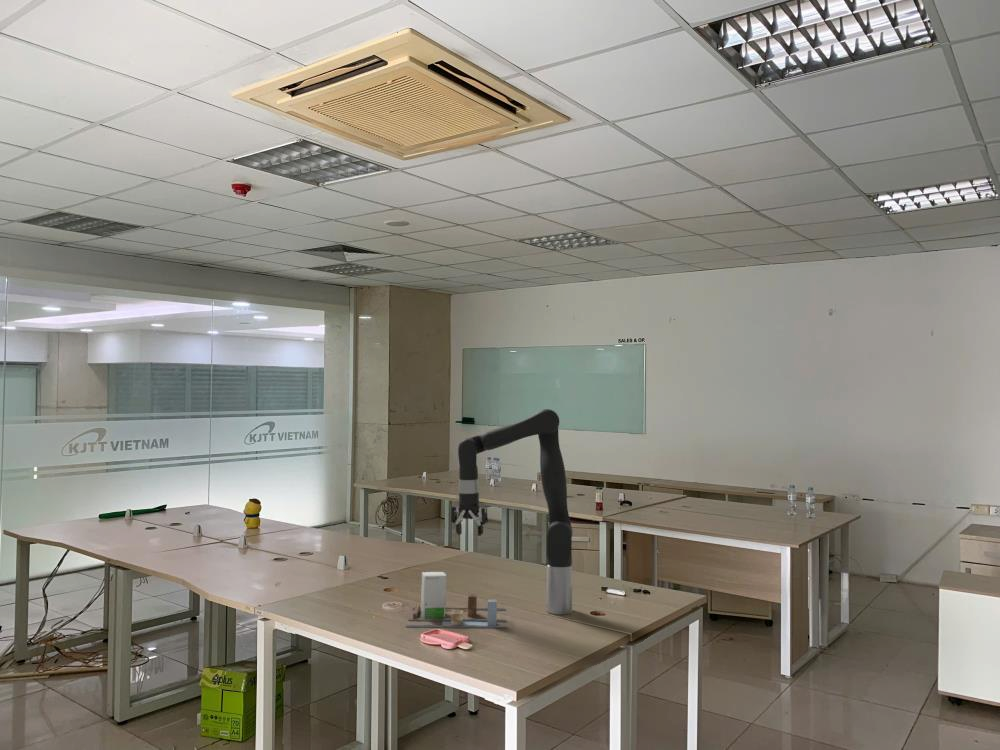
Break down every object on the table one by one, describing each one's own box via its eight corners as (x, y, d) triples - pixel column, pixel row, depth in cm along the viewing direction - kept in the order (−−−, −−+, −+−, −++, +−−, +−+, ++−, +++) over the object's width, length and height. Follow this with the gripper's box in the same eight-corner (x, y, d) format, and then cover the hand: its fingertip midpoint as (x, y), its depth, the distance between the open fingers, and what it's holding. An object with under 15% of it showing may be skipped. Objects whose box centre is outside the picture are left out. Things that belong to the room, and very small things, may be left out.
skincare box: (422, 621, 245) (423, 576, 246) (419, 615, 251) (420, 571, 252) (446, 619, 247) (447, 575, 248) (442, 614, 254) (443, 570, 254)
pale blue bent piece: (496, 624, 242) (496, 598, 242) (496, 629, 237) (496, 602, 237) (442, 624, 242) (443, 598, 242) (441, 629, 237) (442, 602, 237)
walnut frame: (476, 613, 256) (476, 590, 256) (476, 623, 244) (476, 599, 244) (416, 612, 255) (416, 590, 256) (412, 622, 243) (413, 599, 244)
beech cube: (462, 622, 241) (463, 610, 241) (462, 625, 237) (462, 613, 237) (451, 622, 241) (451, 610, 241) (450, 625, 237) (450, 613, 237)
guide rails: (505, 612, 257) (505, 608, 257) (506, 631, 236) (506, 626, 236) (412, 611, 257) (412, 606, 257) (405, 630, 235) (405, 625, 235)
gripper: (490, 490, 263) (491, 534, 263) (456, 489, 269) (457, 532, 268) (481, 493, 256) (482, 537, 256) (447, 492, 262) (448, 535, 262)
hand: (469, 534), depth 262 cm, fingers open, 8 cm apart
